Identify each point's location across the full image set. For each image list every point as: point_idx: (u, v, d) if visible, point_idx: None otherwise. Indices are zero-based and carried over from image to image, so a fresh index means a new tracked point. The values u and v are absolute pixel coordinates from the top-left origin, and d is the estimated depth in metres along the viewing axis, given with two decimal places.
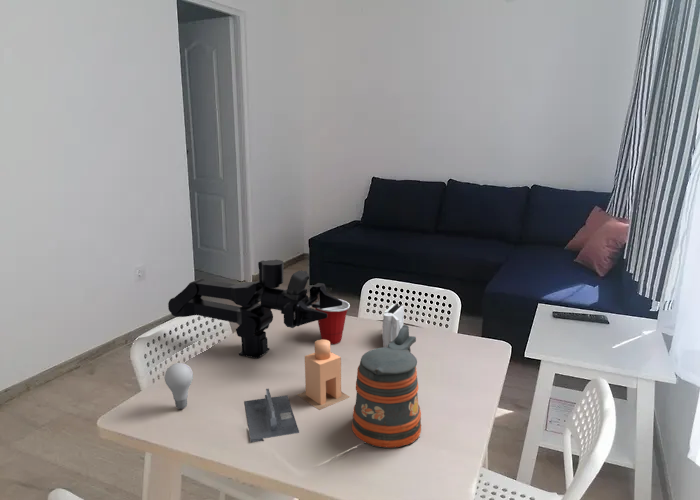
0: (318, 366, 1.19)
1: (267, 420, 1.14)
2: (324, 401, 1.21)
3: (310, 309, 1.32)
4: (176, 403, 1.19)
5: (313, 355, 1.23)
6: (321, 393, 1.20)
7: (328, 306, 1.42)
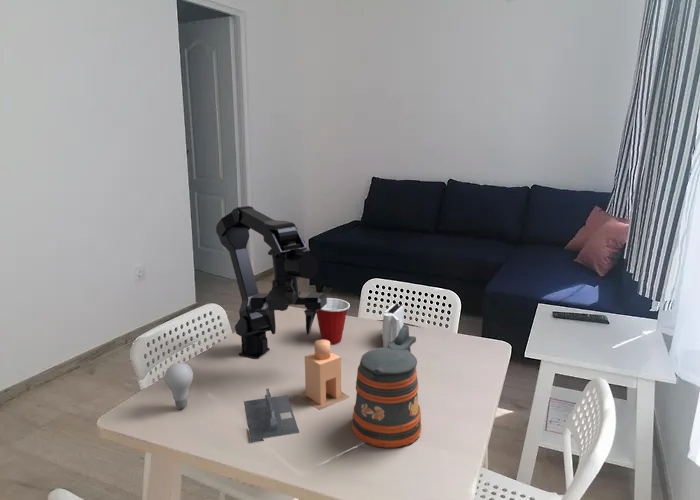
0: (318, 366, 1.19)
1: (267, 420, 1.14)
2: (324, 401, 1.21)
3: (267, 319, 1.32)
4: (176, 403, 1.19)
5: (313, 355, 1.23)
6: (321, 393, 1.20)
7: None
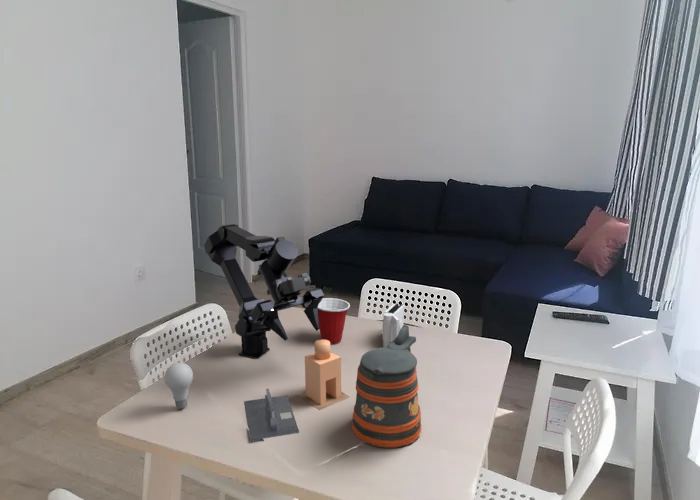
0: (318, 366, 1.19)
1: (267, 420, 1.14)
2: (324, 401, 1.21)
3: (278, 322, 1.25)
4: (176, 403, 1.19)
5: (313, 355, 1.23)
6: (321, 393, 1.20)
7: (309, 318, 1.33)
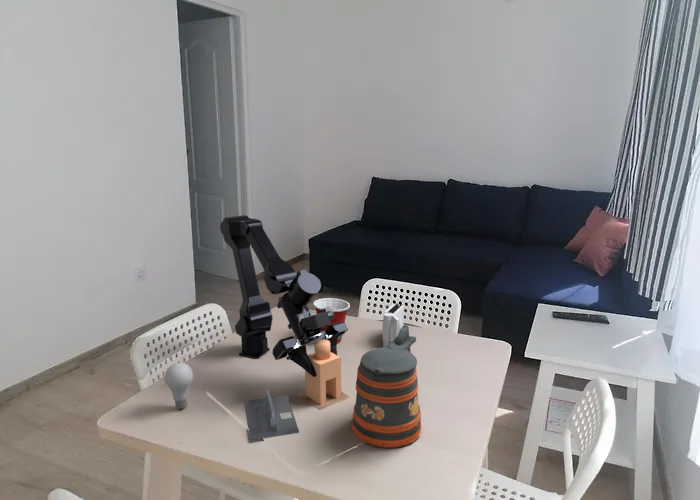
0: (318, 366, 1.19)
1: (267, 420, 1.14)
2: (324, 401, 1.21)
3: (306, 358, 1.20)
4: (176, 403, 1.19)
5: (313, 355, 1.23)
6: (321, 393, 1.20)
7: None
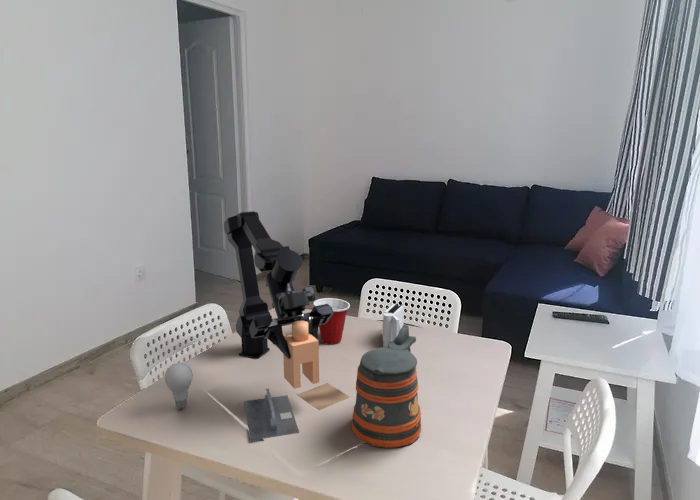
0: (292, 347, 1.13)
1: (267, 420, 1.14)
2: (298, 385, 1.15)
3: (281, 338, 1.15)
4: (176, 403, 1.19)
5: (291, 337, 1.17)
6: (295, 376, 1.14)
7: None
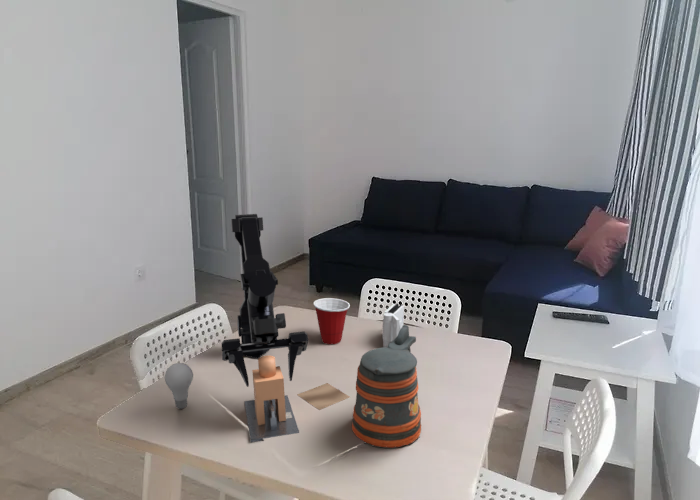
0: (254, 383, 1.11)
1: (267, 420, 1.14)
2: (262, 422, 1.12)
3: (241, 365, 1.12)
4: (176, 403, 1.19)
5: None
6: (258, 413, 1.12)
7: (288, 364, 1.17)
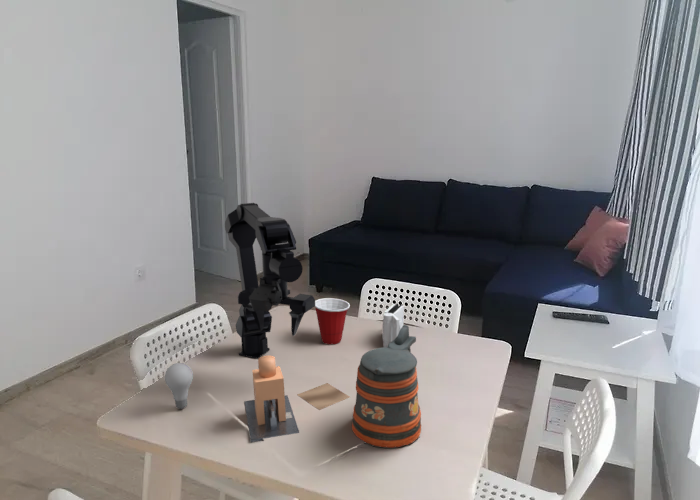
0: (254, 383, 1.11)
1: (267, 420, 1.14)
2: (262, 422, 1.12)
3: (254, 315, 1.30)
4: (176, 403, 1.19)
5: None
6: (258, 413, 1.12)
7: None
